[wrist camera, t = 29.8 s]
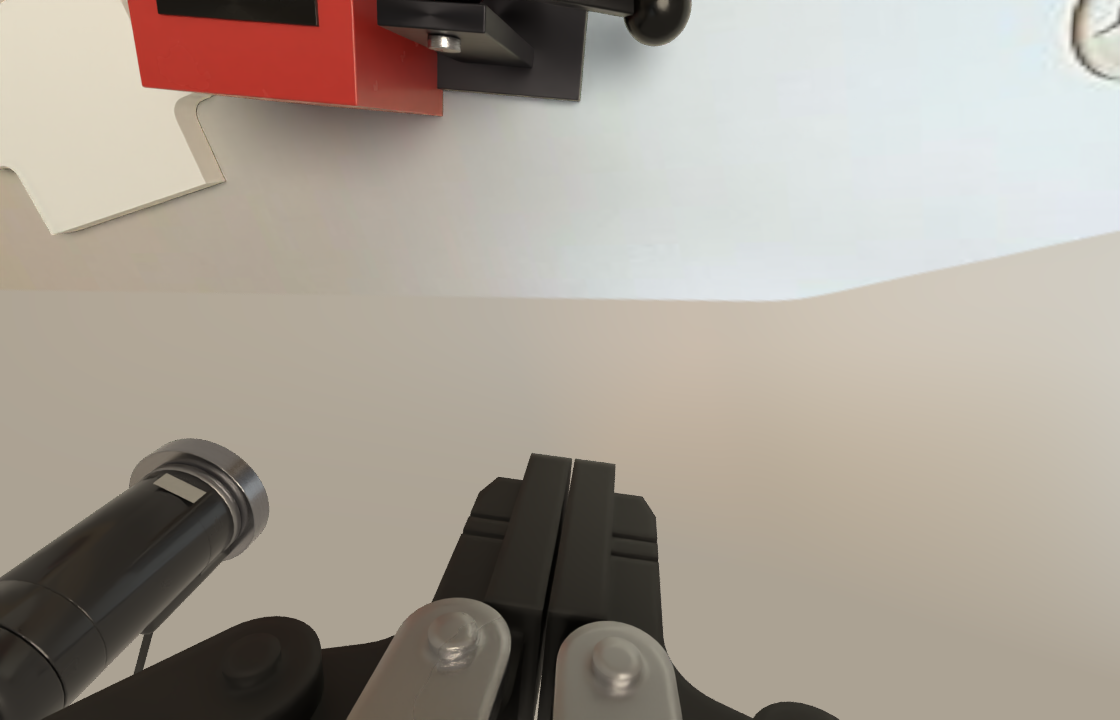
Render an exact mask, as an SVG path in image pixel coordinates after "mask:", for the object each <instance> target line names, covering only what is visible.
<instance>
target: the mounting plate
mask: <svg viewBox="0 0 1120 720" xmlns="http://www.w3.org/2000/svg"><path fill="white" fill-rule="evenodd" d="M211 96H213V95H210V94H201V93H191V92H182V91H173V90H163V89H154V88H145V87H143V86H142V83H141V77H140V71H139V65H138V59H137V54H136V48H135V42H134V36H133V30H132V24H131V18H130V12H129V7H128V1H127V0H6V1H4V2H2V3H0V169H12V170H13V171H14V172H15V173H16V174H17V175H18V177H19V178H20V180H21V182H22V184H23V185H24V187H25V189H26V191H27V193H28V194H29V196H30V198H31V200H32V201H33V203H34V205H35V207H36V208H37V210H38V212H39V214H40V215H41V217H42V219H43V221H44V223H45V224H46V226H47V228H48V230H49V231H50V233H51V235H57V234H63V233H69V232H75V231H79V230H82V229H85V228H88V227H91V226H94V225H97V224H100V223H103V222H106V221H109V220H112V219H115V218H118V217H121V216H124V215H127V214H130V213H133V212H136V211H139V210H142V209H145V208H148V207H151V206H154V205H157V204H159V203H162V202H165V201H168V200H171V199H174V198H177V197H180V196H183V195H186V194H189V193H192V192H195V191H198V190H201V189H204V188H207V187H210V186H213V185H216V184H219V183H222V182H225V179H224V177H223V175H222V172H221V170H220V168H219V166H218V164H217V161H216V159H215V157H214V155H213V153H212V150H211V148H210V146H209V144H208V142H207V139H206V137H205V135H204V133H203V131H202V128H201V126H200V124H199V122H198V119H197V116H196V108H197V105H198V104H199V102H200V101H202V100H204V99H206V98H209V97H211Z"/></svg>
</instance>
